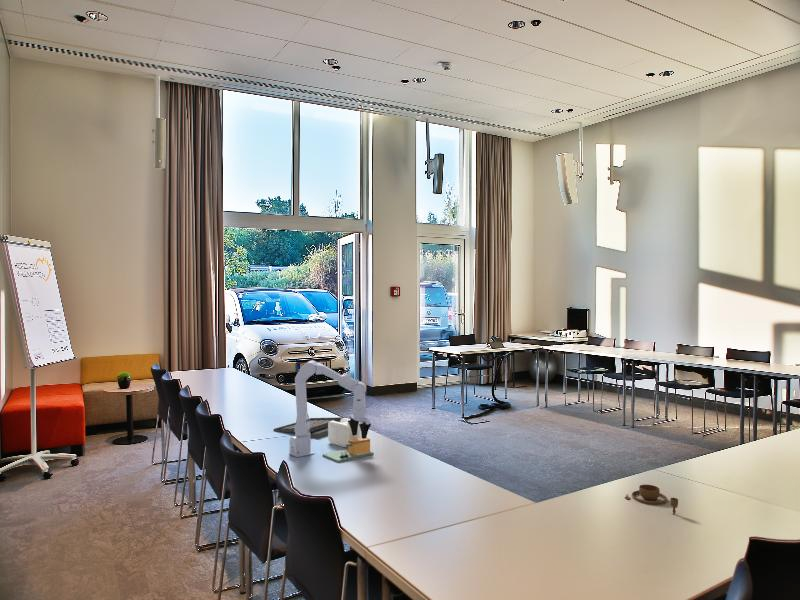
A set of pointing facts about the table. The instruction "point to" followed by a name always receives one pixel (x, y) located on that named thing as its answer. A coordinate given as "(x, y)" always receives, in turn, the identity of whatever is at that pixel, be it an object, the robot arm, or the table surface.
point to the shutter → (312, 426)
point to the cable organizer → (341, 432)
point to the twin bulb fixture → (344, 455)
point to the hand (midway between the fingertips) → (359, 436)
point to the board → (336, 455)
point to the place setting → (652, 496)
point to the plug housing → (359, 446)
